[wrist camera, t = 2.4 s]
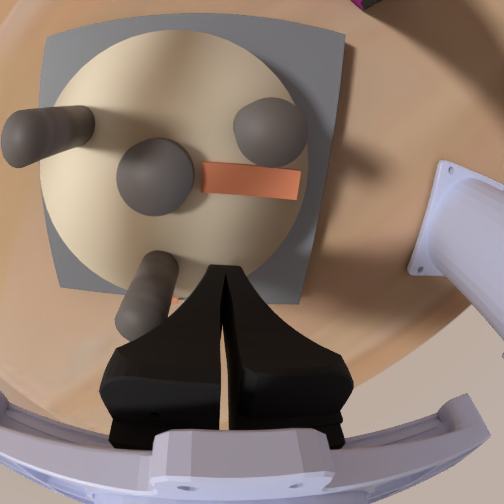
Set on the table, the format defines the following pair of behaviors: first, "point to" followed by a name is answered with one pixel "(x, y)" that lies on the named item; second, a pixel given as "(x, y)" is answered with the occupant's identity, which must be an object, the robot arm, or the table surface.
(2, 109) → the table surface
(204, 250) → the capstan wheel
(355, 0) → the candy bar box
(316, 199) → the stand
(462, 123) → the table surface
